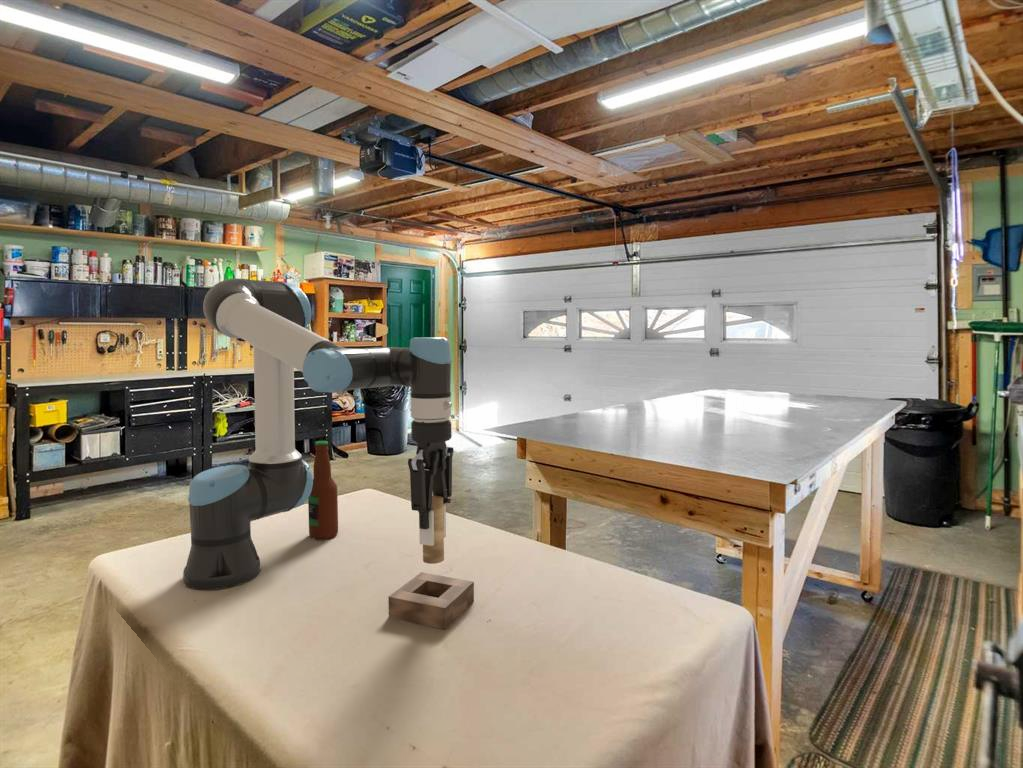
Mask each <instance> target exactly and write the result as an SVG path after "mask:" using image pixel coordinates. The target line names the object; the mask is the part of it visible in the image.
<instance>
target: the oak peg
mask: <svg viewBox="0 0 1023 768" xmlns="http://www.w3.org/2000/svg"><path fill="white" fill-rule="evenodd" d="M431 510H432V511H434V545H433V546H429V545H423V544H422V561H423V563H426V564H429V565H430V564H434V565H436V564H440V563H442V562H443V561H444V560H445V539H444V517H443V497H441V496H433V495H432V504H431Z"/></svg>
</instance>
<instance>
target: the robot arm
mask: <svg viewBox="0 0 1023 768" xmlns="http://www.w3.org/2000/svg"><path fill="white" fill-rule="evenodd" d="M202 303H203V304H202V307H203V308H202V310H203V315H204V317H205V320H206V321H207V322H208V324H209V325H210V326H211V327H212V328H213V329H214V330H215V331H217V332H218V333H221V335H224V336H226V337H228V338H231V339H242V340H244V341H246V342H247V343H248V344H249V345H250V346H251V347H252V348H253V377H254V378H253V379H254V382H253V383H254V385H253V386H254V428H255V429H254V437H255V450H254V452H253V453H252V454H251V455H250V456H249V457H248V467H247V466H246V465H242V464H228V465H224V466H223V465H221V466H216V467H212V468H208V469H207V470H203V471H201V472H200V473H197V474H196V475H194V476H193V478H192V479H191V481H190V482H189V487H188V488H189V489H188V497H187V500H188V503H189V504H188V505H189V525H190V541H191V543H190V544H191V545H190V550H189V553H188V556H187V560H186V565H185V567H184V569H183V574H182V575H183V584H184V585H185V587H187V588H189V589H191V590H192V589H193V590H199V591H211V590H221V589H227V588H231V587H235V586H239V585H242V584H244V583H246V582H249V581H251V580H252V579H254V578H256V577H257V576H258V575H259V574H260V572H261V570H262V569H261V567H262V566H261V558H260V556H259V555H258V551H257V549H256V547H255V544H254V541H253V540H252V534H251V532H252V531H251V529H252V527H251V526H252V525H251V522H253V521H257V520H261V519H264V518H267V517H270V516H274V515H276V514H281V513H287V512H290V511H291V510H293V509H296V508H298V507H301V506H302V505H304V504H305V503H306V502H307V500H308V498H309V496H310V494H311V491H312V486H313V478H314V475H313V473H312V470H310V466H309V464H308V463H307V461H305V460H303V459H302V458H303V457H302V454H301V453H300V452H299V451H298V450H297V449H296V441H295V440H296V437H295V435H296V433H295V432H296V429H295V423H296V422H295V369H296V370H297V371H299V372H301V373H302V376H303V379H304V381H305V383H307V384H308V385H307V386H308V387H309V388H310V389H311V390H313V391H314V392H317V393H333V394H334V393H339V392H345V391H353V390H360V389H371V388H373V389H374V388H382V387H389V386H390V387H409V388H410V417H411V419H413V420H412V422H411V423H410V426H411V427H410V434H411V440H412V441H414V442H416V443H417V447H416V451H415V452H416V453H415V456H414V458H408V460H407V464H408V469H409V479H410V480H409V481H410V502H411V503H410V504H411V506H410V507H411V510H412V511H417V512H418V525H419V526H418V527H419V529H418V530H419V536H418V537H419V545H422V546H423V545H429V546H433V545H434V511H432V510H431V504H432V496H441V497H443V517H444V538H446V537H447V517H446V516H447V513H446V511H447V510H446V506H447V505H446V504H450V503H451V502H452V493H453V456H454V451H455V449H454V447H453V446H449V447H448V446H447V444H446V442H447V441H450V440H451V439H452V433H453V432H452V431H453V430H452V421H451V420H450V419H449V418H451V417H452V407H453V403H452V397H451V396H452V394H451V393H452V392H451V391H452V390H451V379H452V378H451V377H452V376H451V374H452V361H453V360H452V356H451V344H450V340H449V339H448V338H446V337H437V336H435V337H426V336H425V337H421V336H420V337H412V338H411V339H410V340H409V346H408V347H396V346H395V347H393V346H374V347H353V348H352V347H349V348H347V347H345V346H344V347H343V346H341V345H340V344H337V343H334V341H331V340H329V339H328V338H325V337H324V336H321V335H319V334H317V333H316V332H314V331H312V330H309V329H308V328H309V325H310V324H311V321H312V307H311V303H310V301H309V298H308V296H307V295H306V293H304V292H303V290H302V289H301V288H300V287H299V286H297V285H296V284H292V283H288V282H283V281H278V280H277V281H274V280H273V281H271V280H259V279H258V280H257V279H246V278H227V279H224V280H221V281H219V282H217V283H215V284H214V285H213V286H212V287H210V289H208V290H207V293H206V294H205V296H204V300H203V302H202Z"/></svg>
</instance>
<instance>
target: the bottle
mask: <svg viewBox="0 0 1023 768" xmlns="http://www.w3.org/2000/svg"><path fill="white" fill-rule="evenodd" d="M314 444H315V447H314V448H315V449H314V450H315V454H314V463H313V486H312V491H311V494H310V496H309V498H308V499H307V500H308V501H307V502H308V503H307V504H308V511H307V512H308V534H309V537H310V538H312V539H313V540H319V541H320V540H329V539H332V538H334V537H336V536H337V534H338V533H339V509H338V508H339V505H338V504H339V503H338V502H339V501H338V485H337V484H336V481H334V478H333V477H332V468H331V467H332V466H331V465H332V464H331V460H330V456H329V452H328V450H329V446H328V445H329V442H328V441H327V440H317V441H315V443H314Z"/></svg>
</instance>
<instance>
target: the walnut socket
mask: <svg viewBox="0 0 1023 768" xmlns="http://www.w3.org/2000/svg"><path fill="white" fill-rule="evenodd" d="M474 601H475V581H471V580H466V579H460V578H456V577H450V576H444V575H437V574H432V573H428V572H419V573H418V574H417V575H415V576H414V577H413V578H411V579H410V580H409V581H407V582H406V583H405V584H404V585H402V586H401V587H400V588H398V589H397V590H395V591H394V592H393V593H391V594H390V595H389V596H388V618H392V619H396V620H400V621H406V622H409V623H414V624H419V625H422V626H428V627H431V628H432V627H433V628H438V629H441V630H442V629H443V630H447V628H448V627H449V626H450V625H451V624H452V623H453V622H455V620H457V618H459V616H461V614H462V613H464V612H465V610H467V609H468V608H469V606H470V605H471V604H473V603H474Z"/></svg>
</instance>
